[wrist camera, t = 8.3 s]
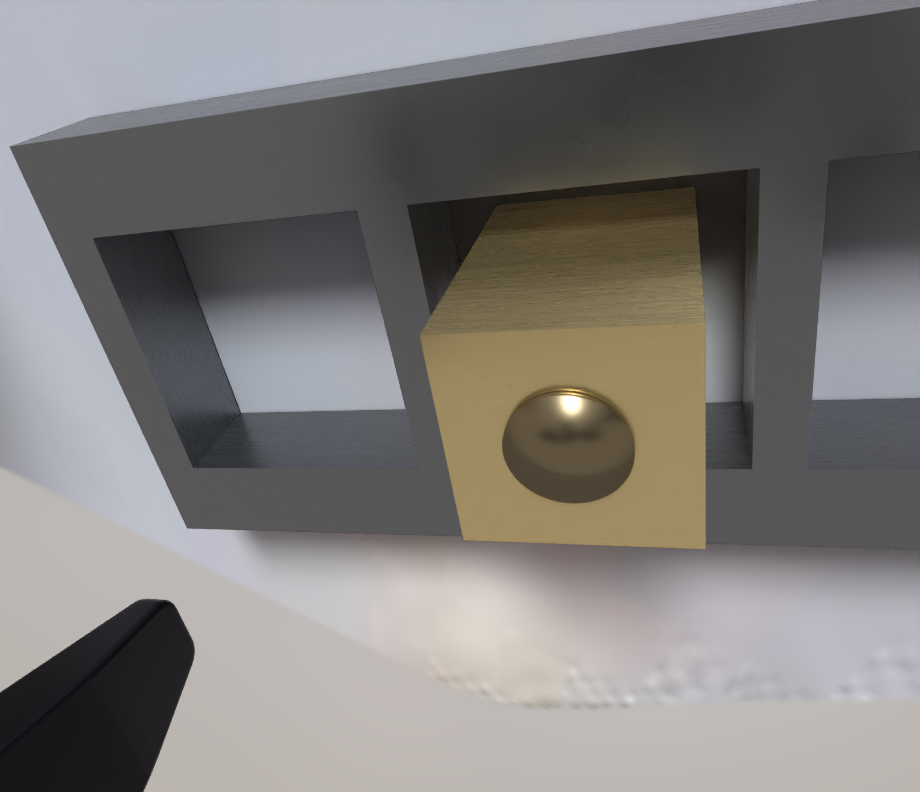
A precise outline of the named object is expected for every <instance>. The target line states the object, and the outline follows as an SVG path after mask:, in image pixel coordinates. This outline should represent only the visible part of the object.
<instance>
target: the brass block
mask: <svg viewBox="0 0 920 792" xmlns="http://www.w3.org/2000/svg"><path fill="white" fill-rule="evenodd" d="M420 340H421V344H422V349H423V354H424V358H425V363H426V368H427V372H428V377H429V381H430V386H431V391H432V395H433V400H434V405H435V409H436V414H437V419H438V423H439V428H440V433H441V437H442V442H443V447H444V451H445V456H446V461H447V465H448V470H449V474H450V479H451V484H452V488H453V493H454V498H455V502H456V507H457V512H458V516H459V521H460V526H461V530H462V535H463V540H472V541H499V542H526V543H552V544H579V545H606V546H633V547H660V548H686V549H706V393H705V311H704V298H703V286H702V273H701V260H700V247H699V234H698V222H697V209H696V196H695V187H687V188H676V189H665V190H654V191H643V192H633V193H622V194H611V195H600V196H590V197H579V198H568V199H557V200H547V201H536V202H525V203H514V204H503V205H497V206H496V208H495V210H494V211H493V213H492V215H491V216H490V218H489V220H488V221H487V223H486V225H485V226H484V228H483V230H482V231H481V233H480V235H479V236H478V238H477V240H476V242H475V243H474V245H473V247H472V248H471V250H470V252H469V253H468V255H467V257H466V258H465V260H464V262H463V263H462V265H461V267H460V268H459V270H458V272H457V273H456V275H455V277H454V278H453V280H452V282H451V283H450V285H449V287H448V288H447V290H446V292H445V294H444V295H443V297H442V299H441V300H440V302H439V304H438V305H437V307H436V309H435V310H434V312H433V314H432V315H431V317H430V319H429V320H428V322H427V324H426V325H425V327H424V329H423V330H422V332H421V334H420Z"/></svg>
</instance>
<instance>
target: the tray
mask: <svg viewBox="0 0 920 792" xmlns="http://www.w3.org/2000/svg"><path fill="white" fill-rule="evenodd" d="M10 149H11V151H12V153H13V155H14V157H15V159H16V161H17V164H18V166H19V168H20V170H21V172H22V174H23V176H24V179H25V181H26V183H27V185H28V187H29V189H30V192H31V194H32V196H33V198H34V200H35V202H36V204H37V207H38V209H39V211H40V213H41V215H42V217H43V219H44V222H45V224H46V226H47V228H48V230H49V232H50V235H51V237H52V239H53V241H54V243H55V245H56V247H57V250H58V252H59V254H60V256H61V258H62V260H63V262H64V265H65V267H66V269H67V271H68V273H69V275H70V278H71V280H72V282H73V284H74V286H75V288H76V290H77V293H78V295H79V297H80V299H81V301H82V303H83V305H84V308H85V310H86V312H87V314H88V316H89V318H90V321H91V323H92V325H93V327H94V329H95V331H96V333H97V336H98V338H99V340H100V342H101V344H102V346H103V348H104V351H105V353H106V355H107V357H108V359H109V361H110V364H111V366H112V368H113V370H114V372H115V374H116V376H117V379H118V381H119V383H120V385H121V387H122V389H123V391H124V394H125V396H126V398H127V400H128V402H129V404H130V407H131V409H132V411H133V413H134V415H135V417H136V419H137V422H138V424H139V426H140V428H141V430H142V432H143V434H144V437H145V439H146V441H147V443H148V445H149V447H150V450H151V452H152V454H153V456H154V458H155V460H156V462H157V465H158V467H159V469H160V471H161V473H162V475H163V477H164V480H165V482H166V484H167V486H168V488H169V490H170V493H171V495H172V497H173V499H174V501H175V503H176V505H177V508H178V510H179V512H180V514H181V516H182V518H183V520H184V523H185V525H186V527H187V528H192V529H226V530H261V531H296V532H330V533H365V534H399V535H434V536H463V535H462V530H461V526H460V521H459V516H458V512H457V507H456V502H455V498H454V493H453V488H452V484H451V479H450V474H449V470H448V465H447V461H446V456H445V451H444V447H443V442H442V437H441V433H440V428H439V423H438V419H437V414H436V409H435V405H434V400H433V395H432V391H431V386H430V381H429V377H428V372H427V368H426V363H425V358H424V354H423V349H422V344H421V340H420V334H421V332H422V330H423V329H424V327H425V325H426V324H427V322H428V320H429V319H430V317H431V315H432V314H433V312H434V310H435V309H436V307H437V305H438V304H439V302H440V300H441V299H442V297H443V295H444V294H445V292H446V290H447V288H448V287H449V285H450V283H451V282H452V280H453V278H454V277H455V275H456V273H457V272H458V270H459V268H460V265H459V259H458V254H457V249H456V243H455V238H454V232H453V227H452V222H451V216H450V211H449V205H448V201H449V200H458V199H468V198H478V197H487V196H497V195H506V194H516V193H525V192H535V191H544V190H554V189H563V188H573V187H582V186H592V185H601V184H611V183H620V182H630V181H639V180H649V179H658V178H668V177H677V176H687V175H696V174H706V173H715V172H725V171H734V170H744V169H747V183H746V239H745V296H744V352H743V402H723V403H706V543H711V544H746V545H780V546H815V547H850V548H884V549H919V550H920V398H904V399H859V400H813V401H812V392H813V378H814V364H815V350H816V336H817V322H818V309H819V295H820V281H821V267H822V253H823V239H824V225H825V212H826V198H827V184H828V170H829V161H830V160H839V159H849V158H858V157H868V156H877V155H887V154H896V153H906V152H915V151H920V0H818V1H812V2H806V3H800V4H793V5H787V6H781V7H775V8H769V9H762V10H756V11H750V12H744V13H738V14H731V15H725V16H719V17H713V18H707V19H700V20H694V21H688V22H682V23H676V24H669V25H663V26H657V27H651V28H645V29H638V30H632V31H626V32H620V33H614V34H607V35H601V36H595V37H589V38H583V39H576V40H570V41H564V42H558V43H552V44H545V45H539V46H533V47H527V48H521V49H514V50H508V51H502V52H496V53H490V54H483V55H477V56H471V57H465V58H459V59H452V60H446V61H440V62H434V63H428V64H421V65H415V66H409V67H403V68H396V69H390V70H384V71H378V72H372V73H365V74H359V75H353V76H347V77H341V78H334V79H328V80H322V81H316V82H310V83H303V84H297V85H291V86H285V87H279V88H272V89H266V90H260V91H254V92H248V93H241V94H235V95H229V96H223V97H217V98H210V99H204V100H198V101H192V102H186V103H179V104H173V105H167V106H161V107H155V108H148V109H142V110H136V111H130V112H124V113H117V114H111V115H105V116H99V117H93V118H88V119H85V120H82V121H79V122H77V123H74V124H71V125H68V126H66V127H63V128H60V129H57V130H54V131H52V132H49V133H46V134H43V135H40V136H38V137H35V138H32V139H29V140H27V141H24V142H21V143H18V144H15V145H13V146H10ZM354 210H356V211H357V215H358V219H359V223H360V227H361V231H362V235H363V239H364V243H365V247H366V251H367V255H368V259H369V263H370V267H371V271H372V275H373V279H374V283H375V287H376V291H377V295H378V299H379V303H380V307H381V311H382V315H383V319H384V323H385V327H386V331H387V335H388V339H389V343H390V347H391V351H392V355H393V359H394V363H395V367H396V372H397V376H398V380H399V384H400V388H401V392H402V396H403V400H404V404H405V408H406V409H405V410H359V411H314V412H268V413H240V411H239V409H238V406H237V403H236V401H235V398H234V395H233V393H232V390H231V388H230V385H229V382H228V380H227V377H226V374H225V372H224V369H223V367H222V364H221V361H220V359H219V356H218V353H217V351H216V348H215V346H214V343H213V340H212V338H211V335H210V332H209V330H208V327H207V325H206V322H205V319H204V317H203V314H202V311H201V309H200V306H199V303H198V301H197V298H196V296H195V293H194V290H193V288H192V285H191V282H190V280H189V277H188V275H187V272H186V269H185V267H184V264H183V261H182V259H181V256H180V254H179V251H178V248H177V246H176V243H175V240H174V238H173V235H172V233H171V230H173V229H183V228H192V227H202V226H211V225H221V224H230V223H240V222H249V221H259V220H268V219H278V218H287V217H297V216H306V215H316V214H325V213H335V212H344V211H354Z"/></svg>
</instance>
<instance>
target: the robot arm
mask: <svg viewBox="0 0 920 792" xmlns="http://www.w3.org/2000/svg"><path fill="white" fill-rule="evenodd" d="M194 654H195V648H194V642H193V640H192V638H191V636H190V634H189V632H188V630H187V628H186V626H185V624H184V622H183V620H182V618H181V616H180V614H179V612H178V610H177V608H176V607H175V605H174V604H173V603H171V602H170V601H167V600H157V599H142V600H138V601H136V602H134V603H133V604H131V605H130V606H129V607H127V608H125V609H124V610H123V611H121V612H119V613H118V614H116V615H115V616H113V617H112V618H110V619H109V620H107V621H106V622H104V623H103V624H101V625H100V626H98V627H97V628H96V629H94V630H93V631H91V632H90V633H88V634H87V635H85V636H84V637H82V638H81V639H79V640H78V641H76V642H75V643H73V644H72V645H70V646H69V647H67V648H66V649H64V650H63V651H61V652H60V653H58V654H57V655H55V656H54V657H52V658H51V659H49V660H48V661H46V662H45V663H43V664H42V665H40V666H39V667H37V668H36V669H34V670H33V671H31V672H30V673H28V674H27V675H25V676H24V677H22V678H21V679H19V680H18V681H16V682H15V683H14V684H12V685H10V686H9V687H8V688H6V689H5V690H3V691H2V692H0V792H144V789H145V787H146V785H147V783H148V780H149V778H150V776H151V773H152V771H153V768H154V766H155V763H156V761H157V758H158V756H159V753H160V750H161V747H162V745H163V742H164V739H165V737H166V734H167V731H168V729H169V726H170V723H171V720H172V718H173V715H174V712H175V710H176V707H177V704H178V701H179V698H180V696H181V693H182V690H183V688H184V685H185V682H186V680H187V677H188V674H189V671H190V669H191V666H192V663H193V660H194Z"/></svg>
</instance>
